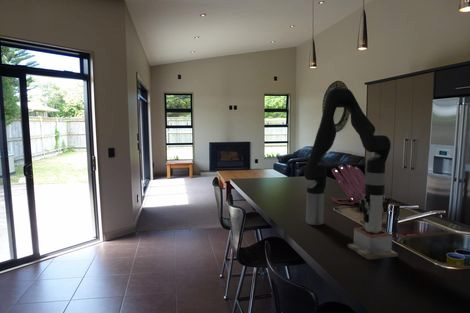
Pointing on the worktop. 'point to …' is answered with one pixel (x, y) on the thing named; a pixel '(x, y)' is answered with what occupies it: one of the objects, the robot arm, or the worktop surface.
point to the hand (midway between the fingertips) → (372, 221)
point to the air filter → (374, 215)
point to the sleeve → (372, 241)
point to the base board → (372, 256)
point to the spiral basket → (350, 183)
